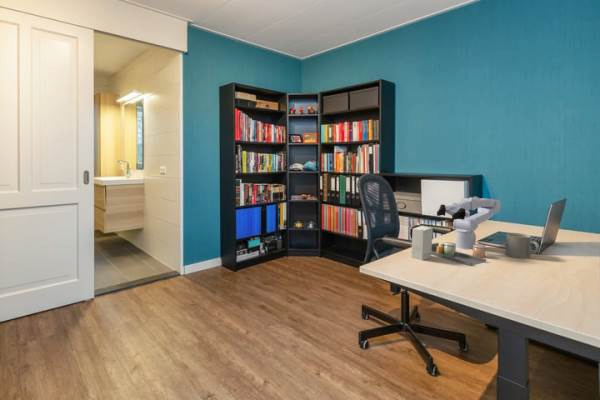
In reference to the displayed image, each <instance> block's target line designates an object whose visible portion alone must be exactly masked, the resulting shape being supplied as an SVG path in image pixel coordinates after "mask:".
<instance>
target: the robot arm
mask: <svg viewBox="0 0 600 400" xmlns="http://www.w3.org/2000/svg"><path fill="white" fill-rule="evenodd" d="M501 207H502V202H501V201H500V200H499V199H494V198H493V199H492V198H483V197H482V198H480V197H478V196H473V197H471V196H470V197H469V198H464V197H463V198H461V199H460V200H459V201H458V202H453V203H452V204H450V205H449V204H448V205H446V204H440V205H439V207H438V210H437V211H436V216H438V217H440V216H444V217H445V216H446V214H447V215H449V216H451V219H452V220H453V225H452V226H453V228H454V229H455V232H456V235H455V236H456V241H455V244H456V249H461V250H464V251H468V250H473V245H474V244H476V243H477V242H476V239H477V235H476V233H475V231H476V230H477V229H478V227H479V225H480V224H481V223H482V224H483V223H485V222H487V221H489V220H490V219H491V218H492V217H493V216H494V215H495V214H498V213H499V212H500V209H501ZM476 209H477V212H476V213H475V214H473V215H470V214H471V212H470V211H475V210H476Z"/></svg>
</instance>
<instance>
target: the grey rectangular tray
mask: <svg viewBox="0 0 600 400" xmlns="http://www.w3.org/2000/svg"><path fill="white" fill-rule="evenodd" d="M437 246H440V244H439V242H434V243H433V242H432V251H431V256H434V257H436V258H437V257H438V258H440V259H445V260H449V261H451V262H454V263H458V264H462V265H464V266H468V267H471V266H476V265H481V264H484V263H487V259H486V258H479V257H476V256H473V254H472V255H471V254H469V253H468V254H467V253H464V252H459V251H458V250H457V251H455V257H450V256H447V255H444V254H440V253H436V251H437Z"/></svg>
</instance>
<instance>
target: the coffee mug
mask: <svg viewBox="0 0 600 400" xmlns="http://www.w3.org/2000/svg"><path fill="white" fill-rule="evenodd" d="M505 238H506V239H505V240H506V242H505V253H504V254H505V256H507V257H509V258H516V259H525V260H526V259H530V257H531V255H535V254H538V253H539V250H540V244H539V243H538V242H537V241H535V240H532V235H530V234H526V233H520V232H508V233H506V236H505ZM532 245H534V246H535V247H534V248H535V249H534V250H533V249H532Z"/></svg>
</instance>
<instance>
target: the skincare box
mask: <svg viewBox="0 0 600 400" xmlns="http://www.w3.org/2000/svg"><path fill="white" fill-rule="evenodd" d="M411 234H412V237H411V252H410V253H411V254H410V255H411V256H410V258H411V259H415V260H419V261H425V260H428V259H430V258H432V255H431V251H432V244H433V227H430V226H425V225H420V226H417V227H414V228H412V232H411Z"/></svg>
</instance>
